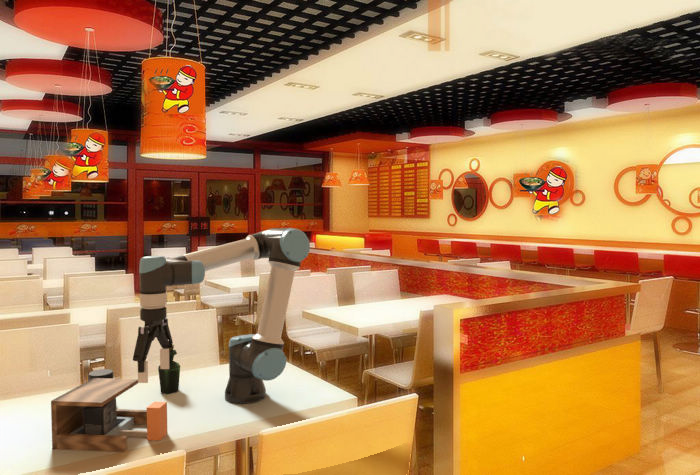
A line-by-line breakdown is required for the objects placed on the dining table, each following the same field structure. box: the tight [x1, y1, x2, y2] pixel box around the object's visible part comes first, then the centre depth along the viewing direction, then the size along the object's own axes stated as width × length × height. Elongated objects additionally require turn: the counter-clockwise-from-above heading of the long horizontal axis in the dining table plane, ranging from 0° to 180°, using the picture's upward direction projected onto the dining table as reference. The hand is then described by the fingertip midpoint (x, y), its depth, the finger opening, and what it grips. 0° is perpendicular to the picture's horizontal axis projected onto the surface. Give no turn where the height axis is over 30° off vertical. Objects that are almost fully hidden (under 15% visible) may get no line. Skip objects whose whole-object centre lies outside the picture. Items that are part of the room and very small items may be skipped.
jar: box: [87, 368, 116, 381], centre depth 182 cm, size 9×8×12 cm
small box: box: [83, 397, 117, 435], centre depth 158 cm, size 11×6×10 cm, turn 5°
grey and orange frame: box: [70, 401, 168, 442], centre depth 157 cm, size 27×16×10 cm, turn 85°
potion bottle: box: [157, 344, 181, 395], centre depth 196 cm, size 8×8×18 cm
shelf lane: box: [50, 378, 147, 453], centre depth 157 cm, size 22×21×14 cm
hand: (154, 375), depth 156 cm, fingers open, 13 cm apart
